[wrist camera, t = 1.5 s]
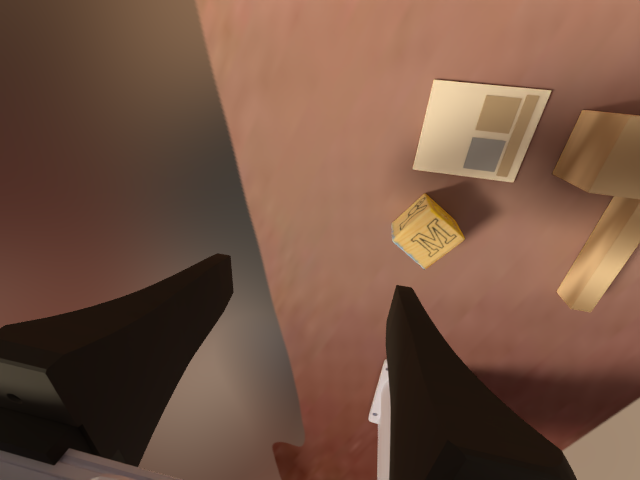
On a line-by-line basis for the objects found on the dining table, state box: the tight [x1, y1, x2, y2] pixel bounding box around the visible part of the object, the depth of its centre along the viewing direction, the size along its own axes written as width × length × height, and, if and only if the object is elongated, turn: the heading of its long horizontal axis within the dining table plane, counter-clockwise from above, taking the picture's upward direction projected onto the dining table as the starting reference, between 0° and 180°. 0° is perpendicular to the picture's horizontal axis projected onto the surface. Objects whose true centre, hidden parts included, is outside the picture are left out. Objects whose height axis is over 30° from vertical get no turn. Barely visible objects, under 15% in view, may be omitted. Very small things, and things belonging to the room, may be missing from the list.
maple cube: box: [552, 110, 640, 199], centre depth 15 cm, size 4×4×4 cm
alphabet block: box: [392, 194, 465, 269], centre depth 19 cm, size 3×3×3 cm
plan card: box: [413, 80, 551, 183], centre depth 17 cm, size 5×6×1 cm
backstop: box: [557, 196, 640, 312], centre depth 17 cm, size 12×1×2 cm, turn 175°
